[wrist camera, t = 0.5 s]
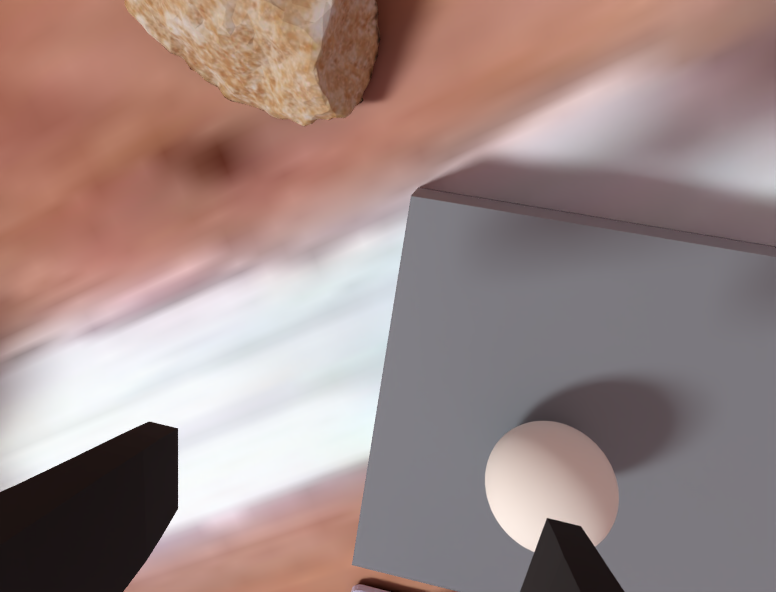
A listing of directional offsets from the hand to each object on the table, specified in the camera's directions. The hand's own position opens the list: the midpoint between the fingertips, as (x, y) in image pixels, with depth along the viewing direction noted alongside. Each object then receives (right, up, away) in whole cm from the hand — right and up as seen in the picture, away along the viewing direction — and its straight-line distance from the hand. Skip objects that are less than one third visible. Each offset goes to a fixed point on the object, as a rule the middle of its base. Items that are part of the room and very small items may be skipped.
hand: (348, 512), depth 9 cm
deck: (+12, -2, +9) cm, 16 cm away
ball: (+6, -2, +6) cm, 8 cm away
